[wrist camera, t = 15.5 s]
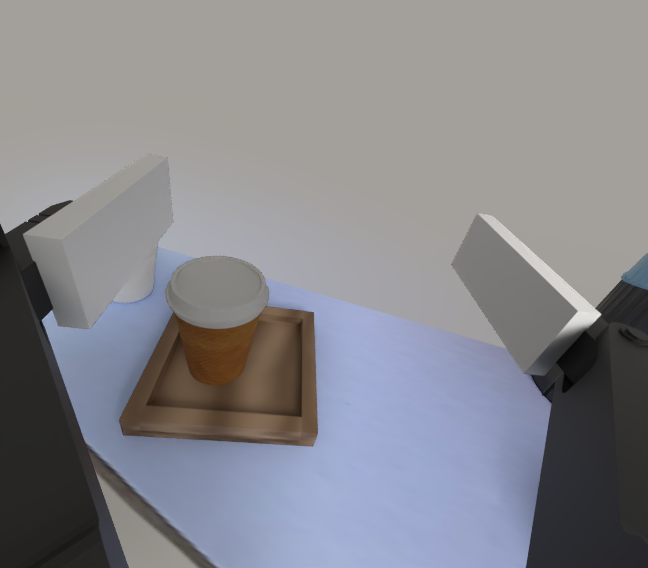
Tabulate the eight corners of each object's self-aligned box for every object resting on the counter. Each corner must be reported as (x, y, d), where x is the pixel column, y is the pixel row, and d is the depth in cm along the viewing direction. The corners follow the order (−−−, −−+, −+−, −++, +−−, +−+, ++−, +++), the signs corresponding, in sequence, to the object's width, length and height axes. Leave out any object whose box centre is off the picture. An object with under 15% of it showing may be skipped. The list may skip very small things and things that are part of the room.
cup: (155, 317, 42) (146, 245, 36) (70, 310, 40) (45, 232, 34) (175, 275, 50) (171, 209, 44) (105, 267, 48) (90, 197, 42)
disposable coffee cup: (152, 370, 35) (139, 281, 28) (214, 323, 42) (216, 243, 36) (222, 415, 32) (226, 329, 26) (274, 356, 40) (288, 278, 33)
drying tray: (310, 325, 47) (313, 312, 46) (313, 446, 33) (317, 433, 31) (182, 309, 44) (181, 295, 43) (123, 435, 30) (119, 419, 28)
